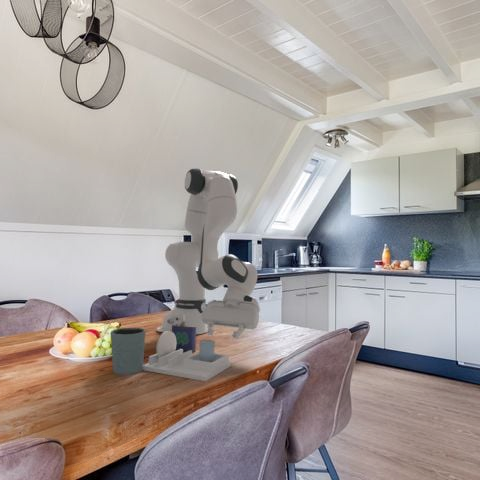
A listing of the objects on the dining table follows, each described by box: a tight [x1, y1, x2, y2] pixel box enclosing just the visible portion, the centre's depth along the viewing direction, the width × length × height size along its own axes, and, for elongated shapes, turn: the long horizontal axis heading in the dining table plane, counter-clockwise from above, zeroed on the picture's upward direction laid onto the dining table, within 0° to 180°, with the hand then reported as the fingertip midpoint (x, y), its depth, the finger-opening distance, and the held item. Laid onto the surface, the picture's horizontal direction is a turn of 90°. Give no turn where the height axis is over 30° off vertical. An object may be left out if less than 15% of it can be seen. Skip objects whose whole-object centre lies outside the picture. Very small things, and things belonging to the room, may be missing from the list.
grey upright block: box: [198, 339, 216, 362], centre depth 117 cm, size 5×5×7 cm
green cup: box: [110, 327, 146, 376], centre depth 116 cm, size 10×10×12 cm
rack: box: [142, 331, 233, 382], centre depth 119 cm, size 22×16×10 cm
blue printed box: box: [172, 321, 197, 353], centre depth 138 cm, size 9×3×11 cm, turn 74°
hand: (222, 335), depth 127 cm, fingers open, 8 cm apart
